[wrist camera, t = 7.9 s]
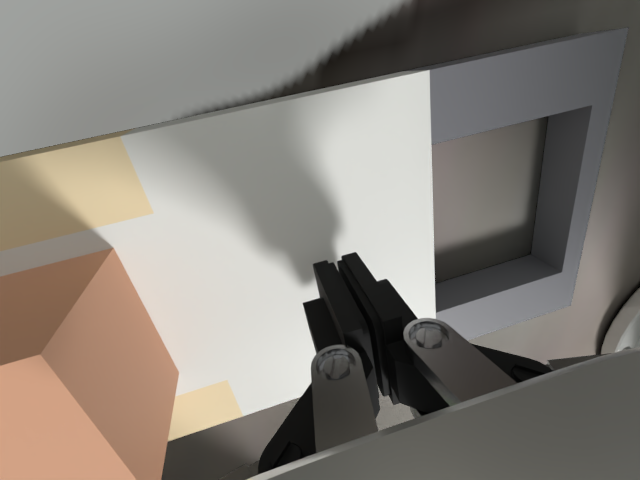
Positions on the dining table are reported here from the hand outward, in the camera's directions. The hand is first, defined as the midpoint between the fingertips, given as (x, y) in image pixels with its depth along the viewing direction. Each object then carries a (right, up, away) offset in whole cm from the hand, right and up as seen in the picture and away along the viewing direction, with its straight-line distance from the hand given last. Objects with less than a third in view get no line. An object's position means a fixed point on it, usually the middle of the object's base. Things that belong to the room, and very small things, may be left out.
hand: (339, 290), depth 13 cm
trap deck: (-6, 0, +2) cm, 6 cm away
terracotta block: (-10, -2, 0) cm, 10 cm away
